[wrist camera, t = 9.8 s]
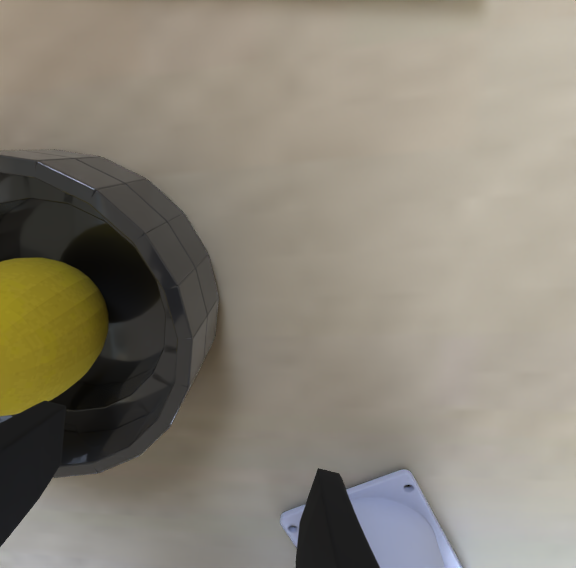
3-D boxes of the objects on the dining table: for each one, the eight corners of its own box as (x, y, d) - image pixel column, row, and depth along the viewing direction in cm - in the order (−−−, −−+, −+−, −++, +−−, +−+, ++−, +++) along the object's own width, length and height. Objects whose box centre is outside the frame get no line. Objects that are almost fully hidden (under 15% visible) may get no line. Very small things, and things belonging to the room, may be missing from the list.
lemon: (122, 233, 19) (-8, 293, 11) (147, 343, 21) (50, 459, 13) (8, 244, 19) (-189, 308, 12) (42, 351, 21) (-110, 467, 14)
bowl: (268, 347, 21) (255, 407, 16) (64, 440, 23) (0, 515, 19) (117, 92, 17) (44, 73, 13) (-102, 235, 20) (-230, 262, 15)
